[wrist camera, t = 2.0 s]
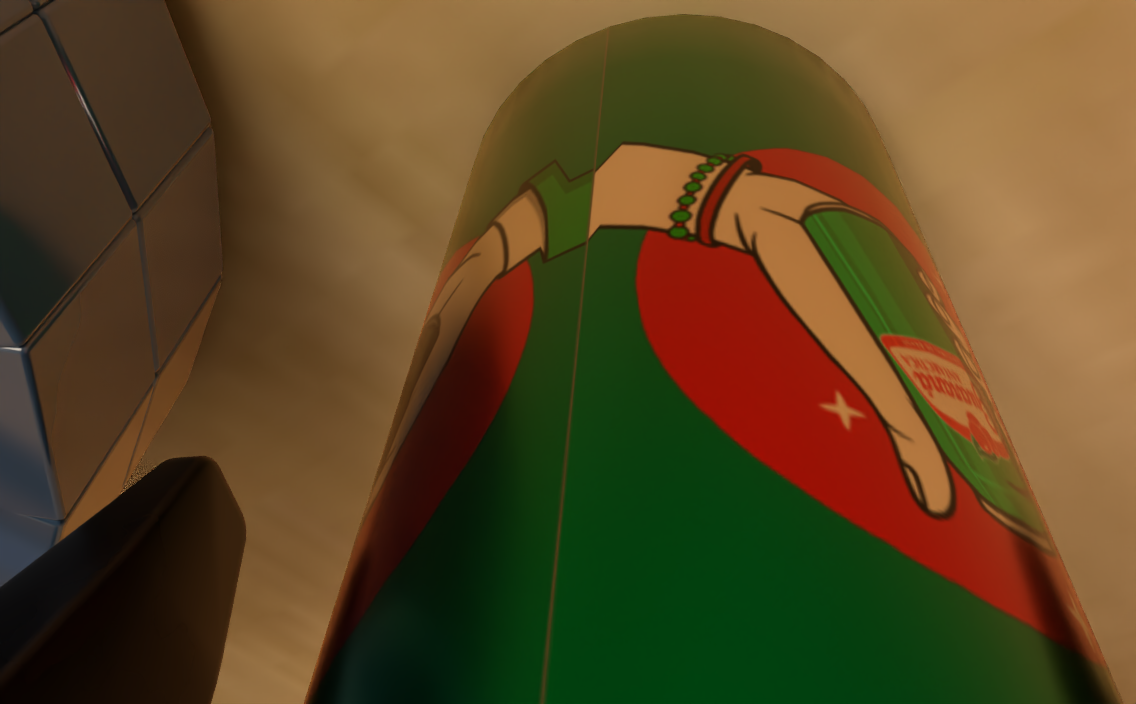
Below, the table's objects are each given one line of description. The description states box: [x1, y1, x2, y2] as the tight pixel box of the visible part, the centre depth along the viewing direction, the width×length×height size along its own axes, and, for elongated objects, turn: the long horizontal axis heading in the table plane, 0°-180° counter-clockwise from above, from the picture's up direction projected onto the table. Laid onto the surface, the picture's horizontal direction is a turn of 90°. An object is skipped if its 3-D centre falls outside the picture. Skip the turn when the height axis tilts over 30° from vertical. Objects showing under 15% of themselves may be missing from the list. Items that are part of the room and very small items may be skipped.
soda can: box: [304, 14, 1124, 704], centre depth 8 cm, size 5×5×12 cm
